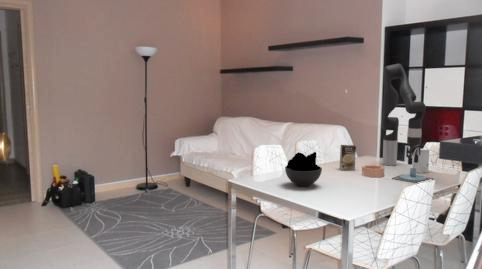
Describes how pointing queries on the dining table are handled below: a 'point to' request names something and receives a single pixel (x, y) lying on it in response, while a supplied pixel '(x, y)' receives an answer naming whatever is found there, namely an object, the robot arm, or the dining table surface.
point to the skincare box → (422, 161)
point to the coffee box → (347, 157)
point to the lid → (412, 176)
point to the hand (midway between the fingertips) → (413, 163)
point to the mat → (408, 180)
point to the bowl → (372, 171)
